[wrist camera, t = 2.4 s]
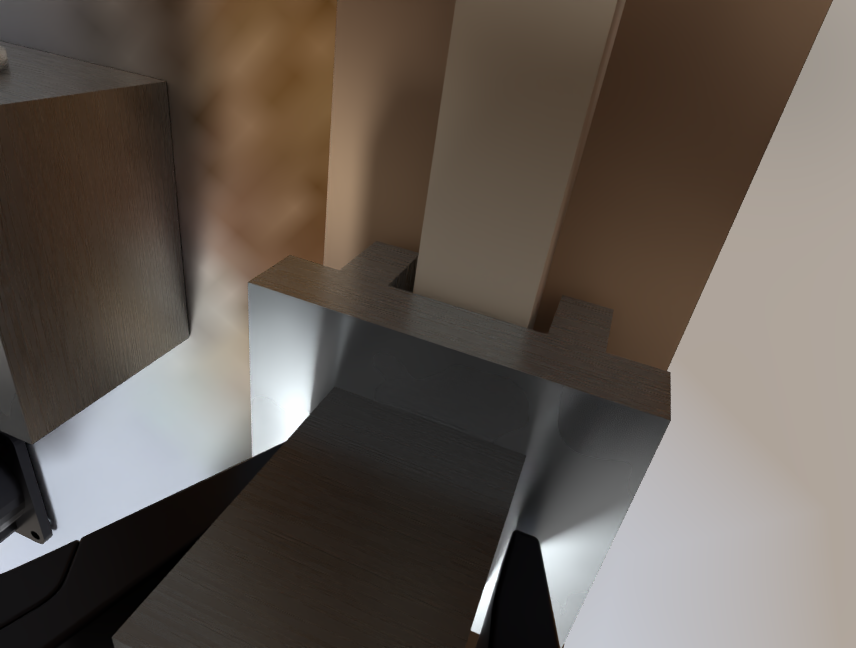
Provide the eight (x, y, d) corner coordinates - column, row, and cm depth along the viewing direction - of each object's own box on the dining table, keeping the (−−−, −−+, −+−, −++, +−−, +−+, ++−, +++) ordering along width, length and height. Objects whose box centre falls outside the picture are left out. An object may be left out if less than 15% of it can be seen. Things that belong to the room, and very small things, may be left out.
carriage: (572, 552, 13) (489, 1020, 7) (318, 452, 14) (68, 768, 8) (670, 326, 10) (672, 827, 4) (331, 227, 11) (-54, 476, 5)
